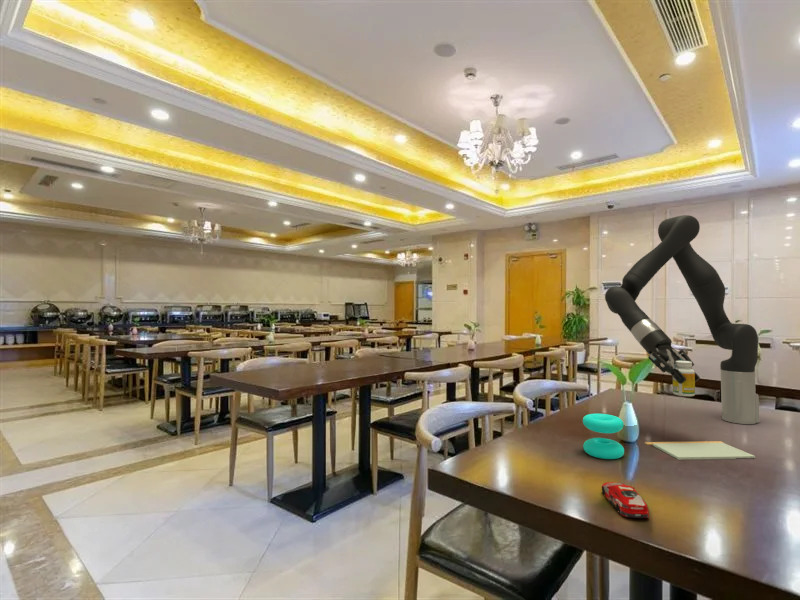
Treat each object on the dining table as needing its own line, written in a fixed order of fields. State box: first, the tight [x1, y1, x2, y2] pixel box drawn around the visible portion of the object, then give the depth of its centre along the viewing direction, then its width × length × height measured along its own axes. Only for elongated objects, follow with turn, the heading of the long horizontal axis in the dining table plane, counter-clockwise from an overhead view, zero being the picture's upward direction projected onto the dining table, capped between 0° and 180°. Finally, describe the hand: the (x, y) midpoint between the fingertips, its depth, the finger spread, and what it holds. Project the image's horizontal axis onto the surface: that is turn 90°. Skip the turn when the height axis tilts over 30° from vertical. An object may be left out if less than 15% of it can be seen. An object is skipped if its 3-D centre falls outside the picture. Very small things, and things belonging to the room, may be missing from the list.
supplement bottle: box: [672, 361, 696, 397], centre depth 122 cm, size 5×5×10 cm
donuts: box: [582, 413, 625, 460], centre depth 114 cm, size 10×10×10 cm
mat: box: [652, 442, 756, 461], centre depth 114 cm, size 20×11×1 cm, turn 90°
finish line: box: [644, 440, 725, 446], centre depth 121 cm, size 22×2×1 cm, turn 90°
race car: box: [601, 481, 650, 519], centre depth 85 cm, size 13×5×4 cm, turn 172°
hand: (690, 380), depth 121 cm, fingers closed on supplement bottle, 5 cm apart
